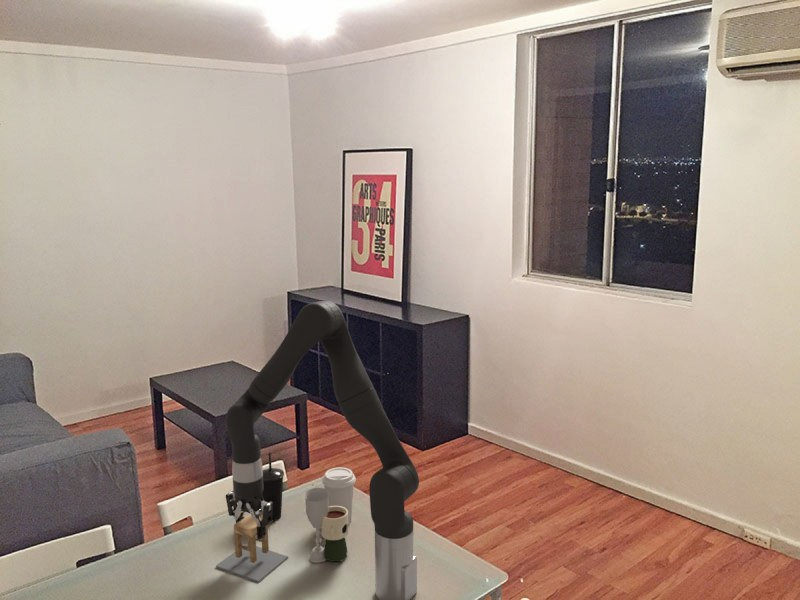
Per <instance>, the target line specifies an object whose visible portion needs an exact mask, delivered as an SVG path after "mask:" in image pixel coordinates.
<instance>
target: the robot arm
mask: <svg viewBox="0 0 800 600" xmlns="http://www.w3.org/2000/svg"><path fill="white" fill-rule="evenodd" d="M319 342H320V344H321V346H322V347H323V350H324V351H325V353H326V356H327V358H328V361H329V365H330V370H331V375H332V376H331V378H332V386H333V393H334V395H335V398H336V399H335V400H336V402H337V403H338V406H339V408H340V410H341V412H342V415H343V416H344V418H345V420H346V422H347V424H348V425H349V426H350V427H351V428H352V429H354V431H356V433H358V434H359V435H361V436H362V437H363V438H364V439H365V440H366V441H368V442H369V444H370V445H371V446H372V447H373V449H374V450H375V452H376V454H377V456H378V458H379V461H380V463H381V466H382V468H380V469H378V470H377V471H376V472H375V473H373V474H372V477H371V478H370V482H369V505H370V506H369V507H370V515H371V516H370V517H371V519H372V522H373V525H374V568H375V569H374V571H375V573H374V575H375V581H374V582H375V596H376V598H377V600H411V599H412V598H413V597H414V596H415V594H417V592H418V558H417V556H416V555H414V518H413V516H412V514H411V513H409V512H408V511H406V510H405V502H406V501H407V500H408V499H409V498H411V497H412V496H413V495H414V494H415V493H416V492H417V490H418V489H419V485H420V478H419V473H418V471H417V469H416V466H415V465H414V463H413V462H412V460H411V458H410V456H409V454H408V453H407V451H406V450H405V448H404V446H403V445H402V442H401V441H400V439H399V438H398V435H397V433H396V432H395V429H394V428H393V425H392V423H391V422H390V419H389V418H388V417H389V416H388V415H387V413H386V411H385V410H384V407H383V405H382V403H381V400H380V398H379V395H378V394H377V390H376V389H375V387H374V385H373V383H372V380H371V379H370V376H369V374H368V373H367V370H366V369H365V366H364V364H363V362H362V360H361V358H360V356H359V354H358V352H357V350H356V347H355V344H354V342H353V339H352V337H351V333H350V331H349V328H348V324H347V322H346V318H345V316H344V314H343V312H342V310H341V309H340V307H339V306H338V305H337V304H336V303H334V302H333V301H330V300H318V301H313V302H310V303H307V304H306V305H304V306H303V307H302V308H301V309H300V311H299V312H298V314H297V315H296V317H295V319H294V321H293V322H292V324H291V326H290V328H289V330H288V332H287V334H286V335H285V337H284V339H283V340H282V341H281V343H280V345H279V346H278V348H277V349H276V350H275V352H273V355H272V356H271V357H270V358H269V360H268V361H267V362H266V364H265V365H264V366H263V368H261V370H260V371H259V372H258V374H257V375H256V376H255V377H254V378H253V380H251V383H250V385H249V388H247V389H246V390H245V392H244V393H243V394H241V396H240V397H239V398H238V399H237V400H236V402H234V404H232V405H231V406H230V407H229V409H227V412H226V416H225V426H226V431H227V434H228V436H229V437H228V438H229V440H230V443H231V455H232V456H231V458H232V464H231V470H232V471H231V472H232V473H231V474H232V475H231V476H232V489H233V490H231V491H230V492H228V493H227V494H226V495H225V501H226V507H227V512H228V515H229V517H233V518H234V520H235V524H236V523H237V522H239V521H241V520H242V519H244V518H245V513H248V514H249V515H251V516H252V518H253V519H254V520H255V522H256V524H257V535H256V537H257V539H262V538H263V537H264V536H265V535H266V526H268V525H269V524H271V523H272V522H273V521H272V514H273V502H271V501H270V502H269V503H268V502H265V501H264V499H263V497H262V492H263V489H264V488H263V470H264V469H263V462H262V455H261V453H262V452H261V440H260V438H259V436H258V435H257V434H255V429H254V427H255V423H257V421H258V420H259V419H260V418H261V416H262V415H263V414H264V412H265V411H266V410H267V408H268V407H269V406H270V404H271V402H273V401H274V400H275V399H276V398H277V397H278V395H279V394H280V393H281V392H282V390H283V389H284V388H285V387H286V385H287V384H288V383H289V381H290V380H291V379H292V377H293V375H294V373H295V371H296V368H297V367H298V365H299V363H300V361H301V360H302V359H303V357H304V356H305V355H306V354H307V353H308V352H309V351H310V350H311V349H312V348H314V347H315V346H316V345H317V344H319ZM259 518H261V521H260V519H259Z"/></svg>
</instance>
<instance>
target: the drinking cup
mask: <svg viewBox="0 0 800 600" xmlns="http://www.w3.org/2000/svg"><path fill="white" fill-rule="evenodd" d="M284 476H285V472H284V470H282V469H281V468H277V467H272V453H271V452H269V453H268V468H265V469H263V488H264V489H263V492H262V497H263V499H264V501H265V502H268V503H269V502H270V501H271V502H273V514H272V522H274V521H278V520H279V519H281V518H282V508H283V506H282V505H283V485H284V484H283V482H284Z"/></svg>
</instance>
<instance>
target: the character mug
mask: <svg viewBox="0 0 800 600" xmlns="http://www.w3.org/2000/svg"><path fill="white" fill-rule="evenodd" d="M349 525H350V524H348V510H347V509H346V508H344V507H342V506H330V507H329V511H328V515H327V517H325V516H324V517H323V521H322V527H321V528H320V531H321V537H323V538H324V539H325V541H324V546H323V547H324V556H325V559H327V560H328V561H332V562H341V561H344V560H345V559H347V557H348V554H349V553H348V547H347V541H346V537H347V536H348V535H349V531H350V530H349ZM327 560H326V561H327Z"/></svg>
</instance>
